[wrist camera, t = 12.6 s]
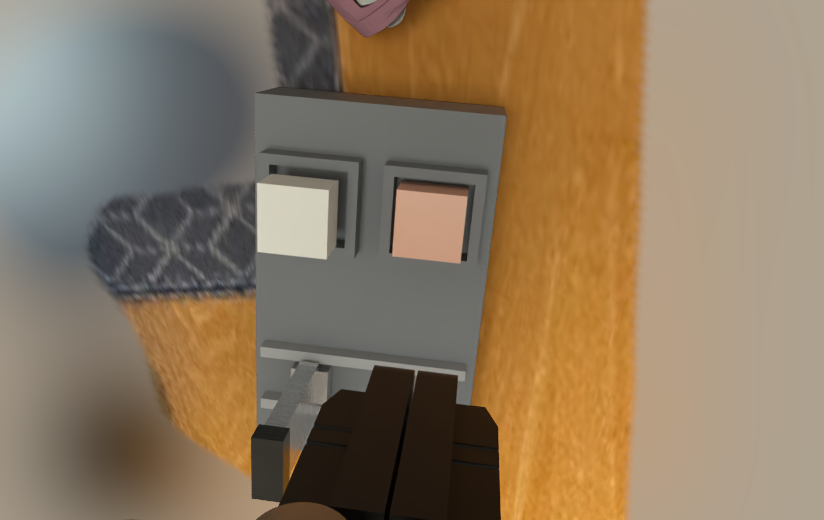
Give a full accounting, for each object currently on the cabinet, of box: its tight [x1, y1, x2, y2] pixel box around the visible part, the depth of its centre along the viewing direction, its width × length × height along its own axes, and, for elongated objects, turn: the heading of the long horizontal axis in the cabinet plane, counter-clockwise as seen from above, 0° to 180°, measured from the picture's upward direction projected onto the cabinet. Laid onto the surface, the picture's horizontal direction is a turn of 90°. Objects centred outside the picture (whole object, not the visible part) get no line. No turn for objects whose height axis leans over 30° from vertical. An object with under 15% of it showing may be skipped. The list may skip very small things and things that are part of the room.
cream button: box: [257, 174, 339, 260], centre depth 29 cm, size 3×3×2 cm
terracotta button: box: [392, 180, 469, 264], centre depth 30 cm, size 3×3×2 cm
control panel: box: [255, 87, 507, 451], centre depth 34 cm, size 20×12×5 cm, turn 176°
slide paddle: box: [251, 361, 332, 502], centre depth 31 cm, size 3×2×8 cm, turn 176°
